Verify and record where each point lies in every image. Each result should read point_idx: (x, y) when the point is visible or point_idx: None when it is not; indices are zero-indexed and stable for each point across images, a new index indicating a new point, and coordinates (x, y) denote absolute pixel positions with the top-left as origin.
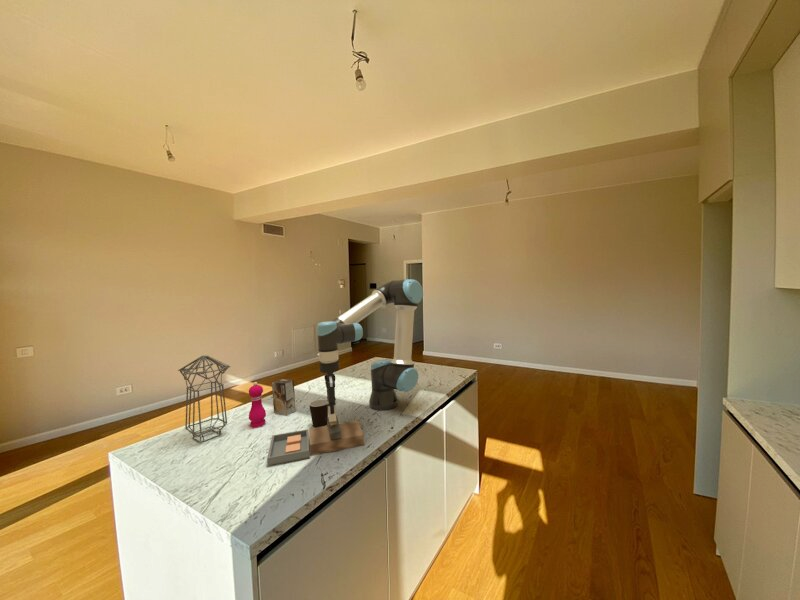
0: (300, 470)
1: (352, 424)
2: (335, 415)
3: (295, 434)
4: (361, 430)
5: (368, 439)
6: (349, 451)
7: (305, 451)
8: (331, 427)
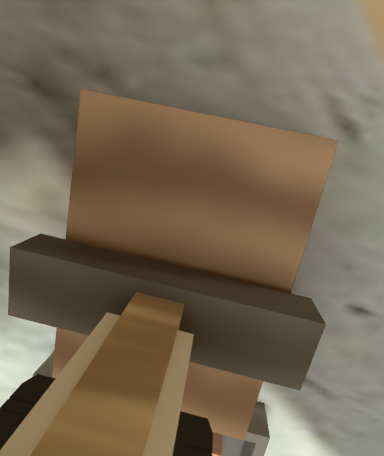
0: (332, 453)
1: (130, 150)
2: (186, 373)
3: None
4: (263, 127)
5: (269, 94)
6: (326, 240)
7: (264, 449)
8: (207, 351)
